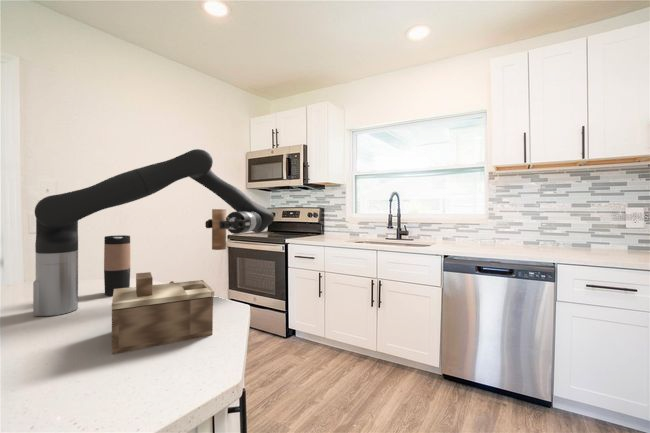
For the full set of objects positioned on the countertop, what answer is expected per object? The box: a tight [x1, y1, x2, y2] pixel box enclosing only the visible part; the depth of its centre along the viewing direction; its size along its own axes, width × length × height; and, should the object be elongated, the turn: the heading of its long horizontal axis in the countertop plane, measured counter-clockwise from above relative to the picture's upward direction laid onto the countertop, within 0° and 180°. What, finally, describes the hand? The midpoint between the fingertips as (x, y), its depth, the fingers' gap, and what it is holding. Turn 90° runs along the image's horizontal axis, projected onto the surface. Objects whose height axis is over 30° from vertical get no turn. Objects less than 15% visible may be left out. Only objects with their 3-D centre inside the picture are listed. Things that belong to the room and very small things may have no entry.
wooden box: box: [111, 288, 214, 355], centre depth 75 cm, size 20×14×9 cm
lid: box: [111, 271, 215, 311], centre depth 74 cm, size 20×14×5 cm, turn 123°
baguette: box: [211, 208, 227, 251], centre depth 93 cm, size 4×4×12 cm
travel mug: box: [103, 234, 131, 297], centre depth 108 cm, size 8×8×20 cm
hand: (214, 224), depth 90 cm, fingers closed on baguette, 4 cm apart
